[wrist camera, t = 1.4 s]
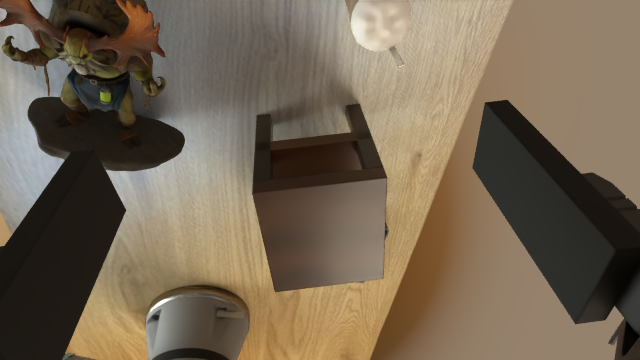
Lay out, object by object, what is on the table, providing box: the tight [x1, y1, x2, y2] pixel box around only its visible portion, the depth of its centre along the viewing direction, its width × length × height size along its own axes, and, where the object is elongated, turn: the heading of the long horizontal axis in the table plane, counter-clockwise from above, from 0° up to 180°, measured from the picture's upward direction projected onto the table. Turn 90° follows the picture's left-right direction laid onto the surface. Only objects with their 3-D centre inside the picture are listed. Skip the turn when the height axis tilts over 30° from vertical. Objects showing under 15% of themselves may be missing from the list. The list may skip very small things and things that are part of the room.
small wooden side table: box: [252, 104, 387, 292], centre depth 42 cm, size 13×11×13 cm
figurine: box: [0, 0, 185, 171], centre depth 34 cm, size 14×10×18 cm
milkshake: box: [345, 0, 412, 67], centre depth 32 cm, size 4×5×10 cm
